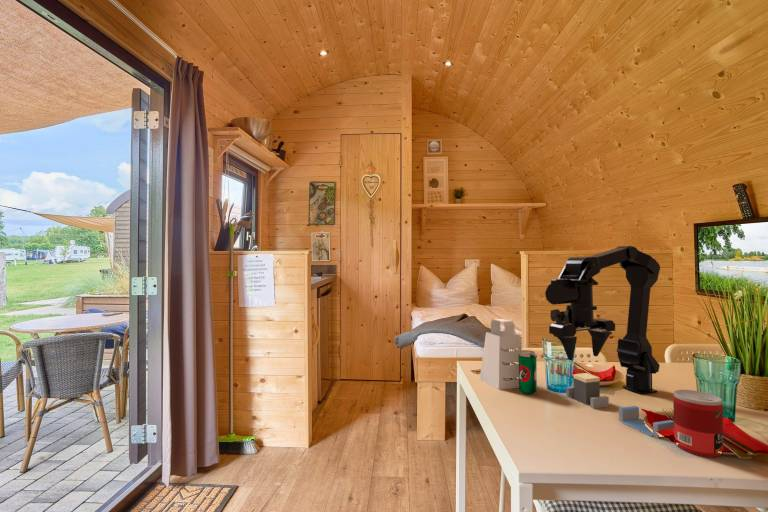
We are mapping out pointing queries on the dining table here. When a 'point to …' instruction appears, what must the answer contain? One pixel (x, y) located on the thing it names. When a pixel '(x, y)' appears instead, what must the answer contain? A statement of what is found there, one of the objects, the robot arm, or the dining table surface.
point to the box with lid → (586, 387)
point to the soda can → (527, 372)
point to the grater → (501, 356)
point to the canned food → (698, 422)
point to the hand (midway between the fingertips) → (583, 358)
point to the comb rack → (627, 415)
